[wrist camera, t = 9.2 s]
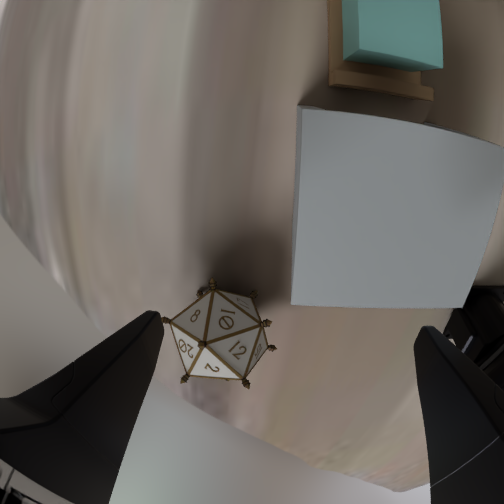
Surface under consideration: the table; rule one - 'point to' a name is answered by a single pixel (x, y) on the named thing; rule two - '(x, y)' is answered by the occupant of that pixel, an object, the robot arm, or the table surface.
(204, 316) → the game die
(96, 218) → the table surface
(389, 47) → the block
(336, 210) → the tunnel
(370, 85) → the tan plank with cube
